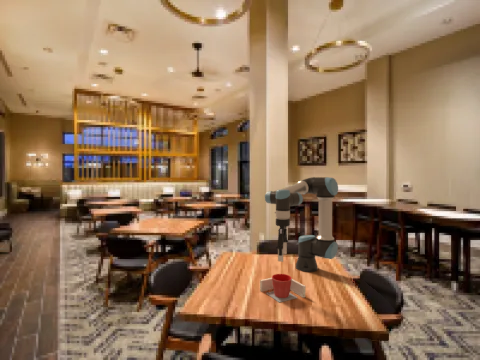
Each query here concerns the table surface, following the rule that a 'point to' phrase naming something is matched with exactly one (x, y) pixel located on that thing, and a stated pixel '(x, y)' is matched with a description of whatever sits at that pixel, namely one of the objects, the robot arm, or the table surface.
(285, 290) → the flower pot
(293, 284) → the corner wall
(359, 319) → the table surface
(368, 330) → the table surface
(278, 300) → the pad
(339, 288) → the table surface
